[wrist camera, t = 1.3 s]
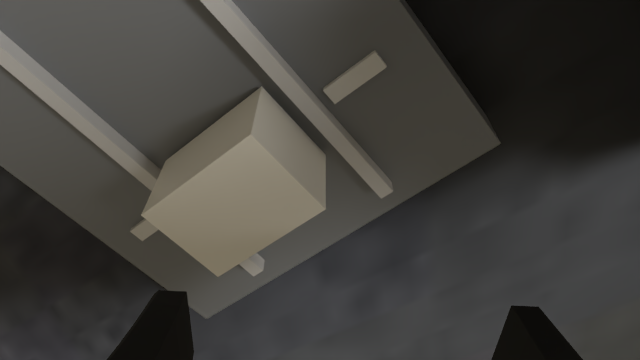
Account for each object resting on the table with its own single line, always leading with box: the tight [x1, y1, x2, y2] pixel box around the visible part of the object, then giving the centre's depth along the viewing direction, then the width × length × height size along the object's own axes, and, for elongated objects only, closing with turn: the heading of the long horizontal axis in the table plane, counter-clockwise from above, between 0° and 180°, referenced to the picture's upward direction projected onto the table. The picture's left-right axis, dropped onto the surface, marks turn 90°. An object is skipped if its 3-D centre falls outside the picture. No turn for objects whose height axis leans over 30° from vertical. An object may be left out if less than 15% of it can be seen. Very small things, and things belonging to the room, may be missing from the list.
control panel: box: [0, 0, 501, 319], centre depth 17 cm, size 18×14×3 cm
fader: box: [141, 86, 326, 277], centre depth 17 cm, size 3×4×3 cm
